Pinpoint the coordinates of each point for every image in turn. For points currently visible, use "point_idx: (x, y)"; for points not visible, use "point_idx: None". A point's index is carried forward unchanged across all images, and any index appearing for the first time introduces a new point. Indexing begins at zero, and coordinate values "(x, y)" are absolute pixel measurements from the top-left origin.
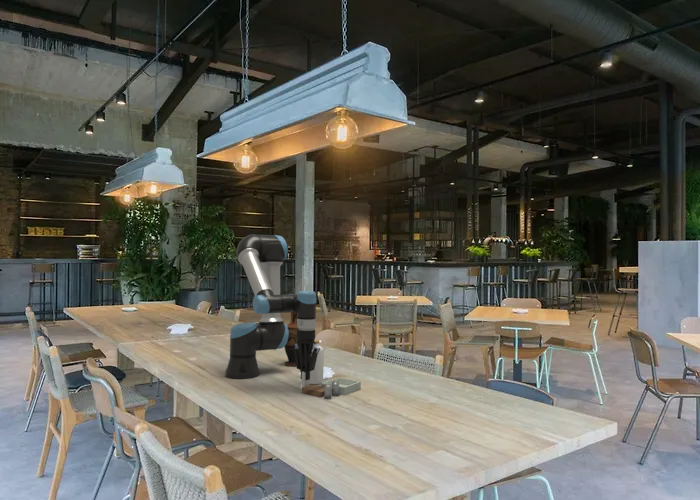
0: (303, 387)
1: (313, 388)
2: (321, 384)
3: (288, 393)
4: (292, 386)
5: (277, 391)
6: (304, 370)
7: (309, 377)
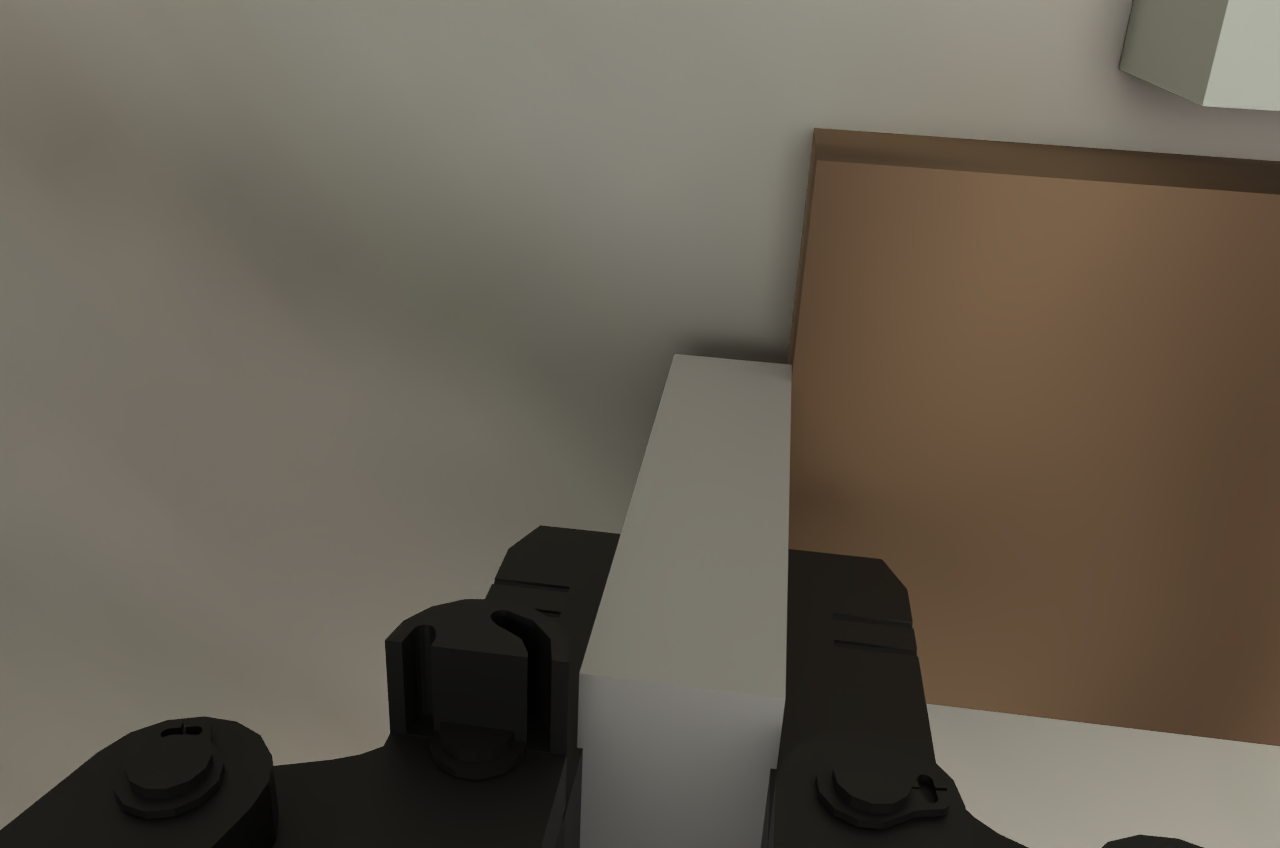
0: None
1: (1119, 578)
2: (1231, 105)
3: None
4: (106, 165)
5: None
6: (573, 808)
7: (904, 641)
